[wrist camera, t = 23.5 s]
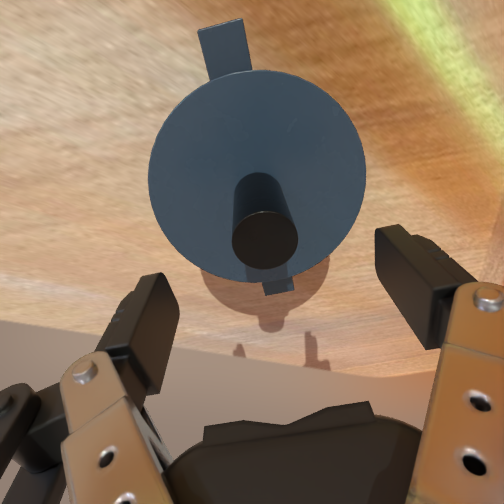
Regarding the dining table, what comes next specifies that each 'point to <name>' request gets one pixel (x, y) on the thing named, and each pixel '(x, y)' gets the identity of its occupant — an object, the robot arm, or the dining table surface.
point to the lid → (257, 176)
